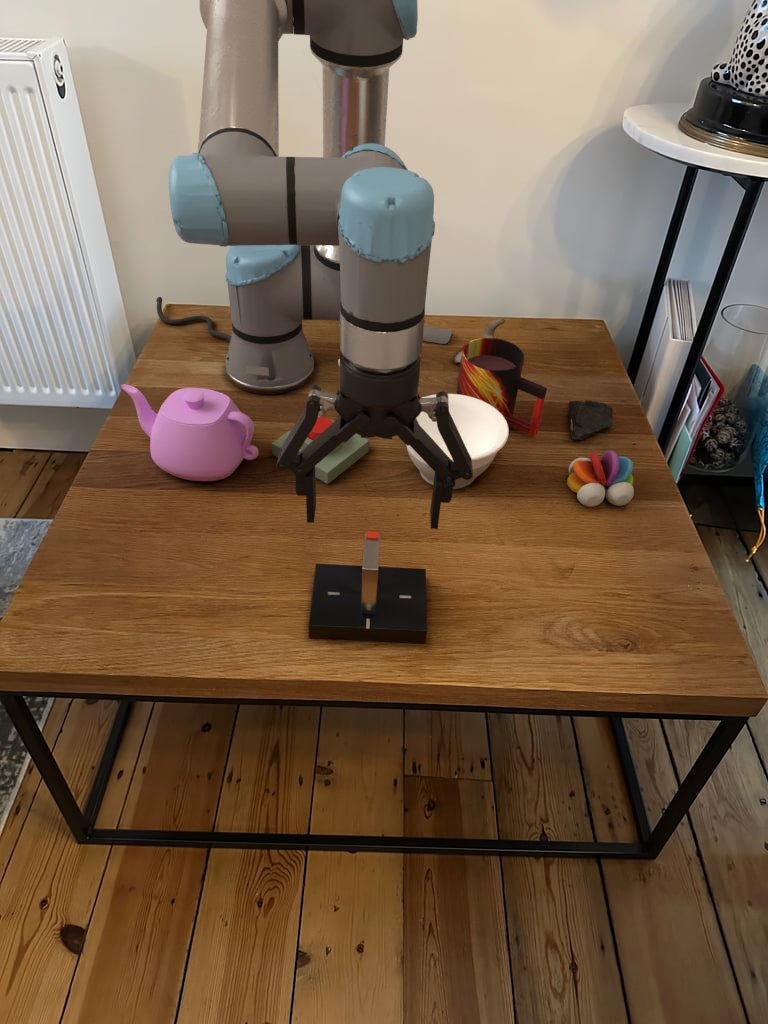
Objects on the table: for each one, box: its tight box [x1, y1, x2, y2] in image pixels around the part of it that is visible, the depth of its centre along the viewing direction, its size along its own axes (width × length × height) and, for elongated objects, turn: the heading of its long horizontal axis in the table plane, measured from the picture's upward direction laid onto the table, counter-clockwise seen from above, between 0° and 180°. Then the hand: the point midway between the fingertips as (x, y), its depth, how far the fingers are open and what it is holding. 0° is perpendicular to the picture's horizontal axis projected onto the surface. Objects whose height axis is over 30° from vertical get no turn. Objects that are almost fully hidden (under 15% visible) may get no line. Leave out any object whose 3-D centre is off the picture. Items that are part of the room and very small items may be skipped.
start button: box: [308, 416, 333, 440], centre depth 114 cm, size 4×4×2 cm
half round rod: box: [423, 325, 453, 345], centre depth 144 cm, size 4×20×2 cm, turn 77°
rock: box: [567, 399, 614, 441], centre depth 123 cm, size 9×7×5 cm
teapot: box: [120, 383, 259, 482], centre depth 111 cm, size 20×13×12 cm, turn 78°
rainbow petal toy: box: [566, 450, 635, 508], centre depth 111 cm, size 8×10×7 cm
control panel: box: [308, 563, 428, 644], centre depth 94 cm, size 14×10×3 cm
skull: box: [453, 317, 506, 364], centre depth 137 cm, size 10×12×6 cm
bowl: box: [405, 393, 510, 490], centre depth 113 cm, size 16×16×9 cm
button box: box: [271, 416, 370, 485], centre depth 116 cm, size 11×10×4 cm
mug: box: [456, 337, 548, 438], centre depth 122 cm, size 10×14×12 cm
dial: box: [361, 531, 381, 615], centre depth 91 cm, size 6×2×8 cm, turn 178°
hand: (372, 517), depth 85 cm, fingers open, 13 cm apart
